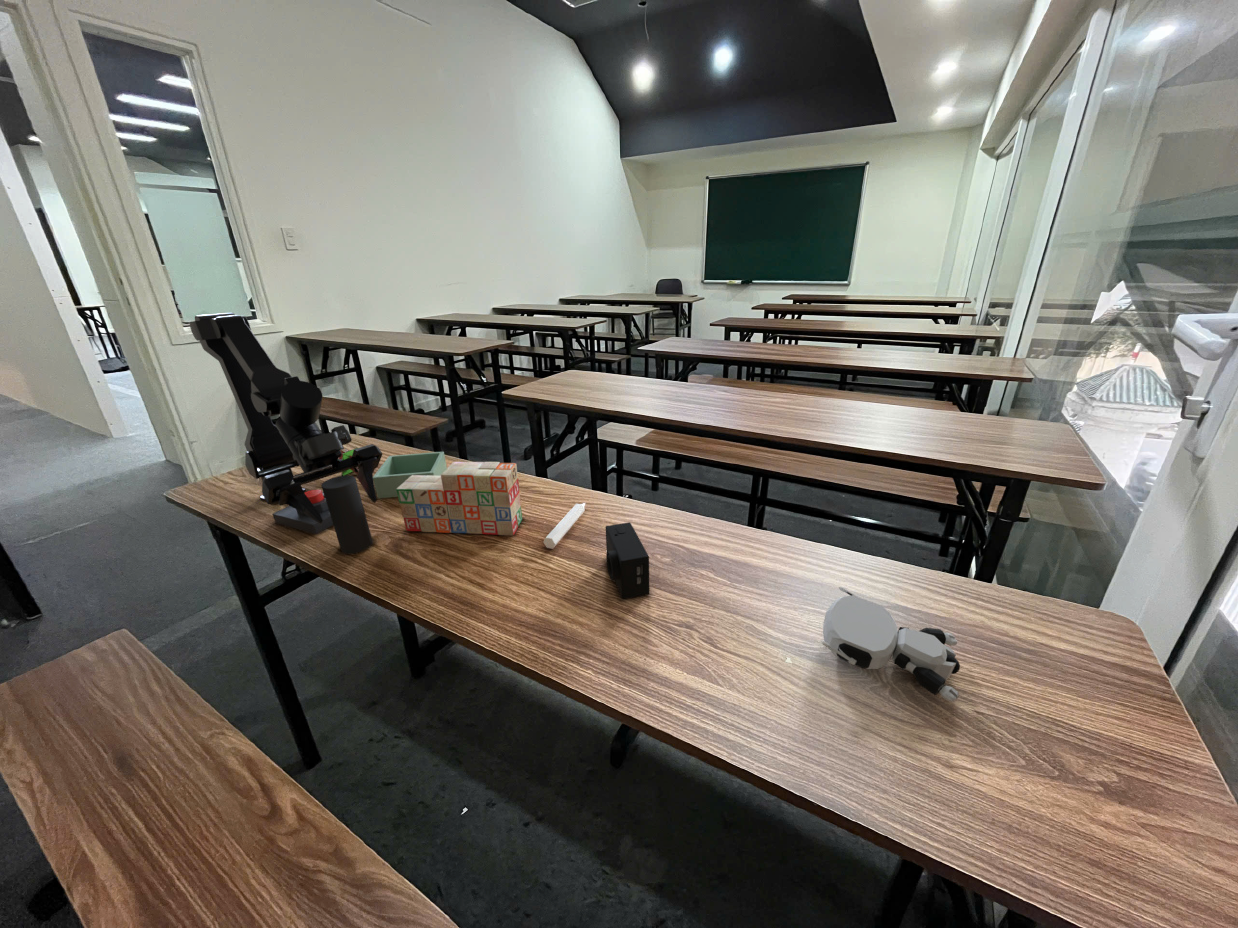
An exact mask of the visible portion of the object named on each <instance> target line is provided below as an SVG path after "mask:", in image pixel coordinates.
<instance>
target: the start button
mask: <svg viewBox="0 0 1238 928" xmlns="http://www.w3.org/2000/svg"><path fill="white" fill-rule="evenodd" d="M322 492H323V490H321V489H310V490H308V491H307V490H306V491H305V492H304V493H305V495H306V496H307V497H308V499H309V500H310V501H311V503H312V504H314V503H318V502H320V501H322V500H324V497H323V494H322Z"/></svg>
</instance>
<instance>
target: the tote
mask: <svg viewBox="0 0 1238 928" xmlns="http://www.w3.org/2000/svg"><path fill="white" fill-rule="evenodd" d="M447 468H448V467H447V462H446V456H445V451H433V452H421V453H406V454H396V455H395V454H394V455H388V456H387V458H386V460H385V461H384V462H383V463H382V464H381V466H380V467H379V469H378V470H377V471H376V472H375V474H374V475H373V482H374V488H375V493H376V498H377V499H387V498H389V499H390V498H398V495H397V491H396V489H397V488H398V487H399V486H400V485H401V484H403V483H404V481H406V480H407V479H408V478H409V477H410V476H412V475H425V476H427V475H430V476H441V474H442V473H443V472H444V471H446V469H447Z"/></svg>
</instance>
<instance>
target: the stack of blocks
mask: <svg viewBox="0 0 1238 928" xmlns="http://www.w3.org/2000/svg"><path fill="white" fill-rule="evenodd" d="M396 491H397V495H398V497H397V500H398V503H399V505H400V506H399V507H400V510H401V515H402V518H403V522H404V523H403V524H404V528H405V531H406V532H422V533H445V534H451V533H453V534H474V535H475V534H476V535H491V536H492V535H496V536H498V535H499V536H514V535H515V534H516V532H517V530H518V528H519V526H520V524H521V522H523V511H522V503H521V494H520V483H519V477H518V467H517V462H516V463H515V462H514V463H513V462H500V461H453V462H451V464H449V466H448V467H447V469H446V471H444V472H443V473H442V474H441V476H430V475H427V476H425V475H412V476H410V477H409V478H408V479H407V480H406V481H404V483H403V484H401V485H400V486H399V487H398V488H397V489H396Z"/></svg>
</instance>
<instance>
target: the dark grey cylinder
mask: <svg viewBox="0 0 1238 928" xmlns="http://www.w3.org/2000/svg"><path fill="white" fill-rule="evenodd" d="M321 489H322V492H323V493H324V496H325V499H326V502H327V506H328V509H329V512H330V516H331V519H332V522H333V525H332V526H333V529H334V532H335V534H336V538H337V541H338V545H339V548H340V551H341V552H342V554H347V555H352V554H357V553H362V552H363V551H365V550H367V549H369V548H370V547H371V546H372V545H373V543H374V540H373V537H372V533H371V530H370V527H369V526H370V525H369V522H368V519H367V516H366V512H365V508H364V504H363V501H362V497H361V494H360V490H359V486H358V482H357V477H356V476H353V475H344V476H342V475H340V476H334V477H331V478H329V479H327V480H325V481H324V482H322V483H321Z"/></svg>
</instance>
